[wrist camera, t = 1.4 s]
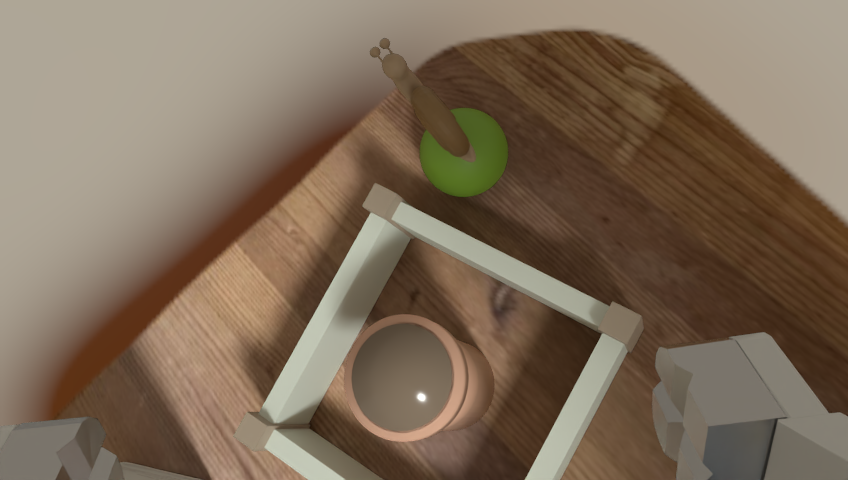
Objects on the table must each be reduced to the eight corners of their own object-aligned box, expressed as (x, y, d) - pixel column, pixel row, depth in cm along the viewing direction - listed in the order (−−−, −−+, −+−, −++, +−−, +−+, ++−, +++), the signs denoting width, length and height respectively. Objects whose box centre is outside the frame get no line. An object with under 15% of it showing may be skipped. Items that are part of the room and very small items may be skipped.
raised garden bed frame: (644, 328, 41) (641, 315, 36) (504, 593, 40) (482, 619, 35) (405, 208, 48) (374, 182, 42) (279, 434, 46) (233, 436, 41)
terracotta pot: (519, 365, 43) (484, 351, 34) (469, 457, 43) (421, 467, 34) (433, 316, 45) (380, 292, 37) (385, 403, 45) (321, 400, 36)
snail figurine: (471, 101, 48) (414, 6, 37) (533, 168, 45) (492, 87, 34) (410, 155, 48) (335, 77, 37) (467, 224, 46) (406, 162, 35)
